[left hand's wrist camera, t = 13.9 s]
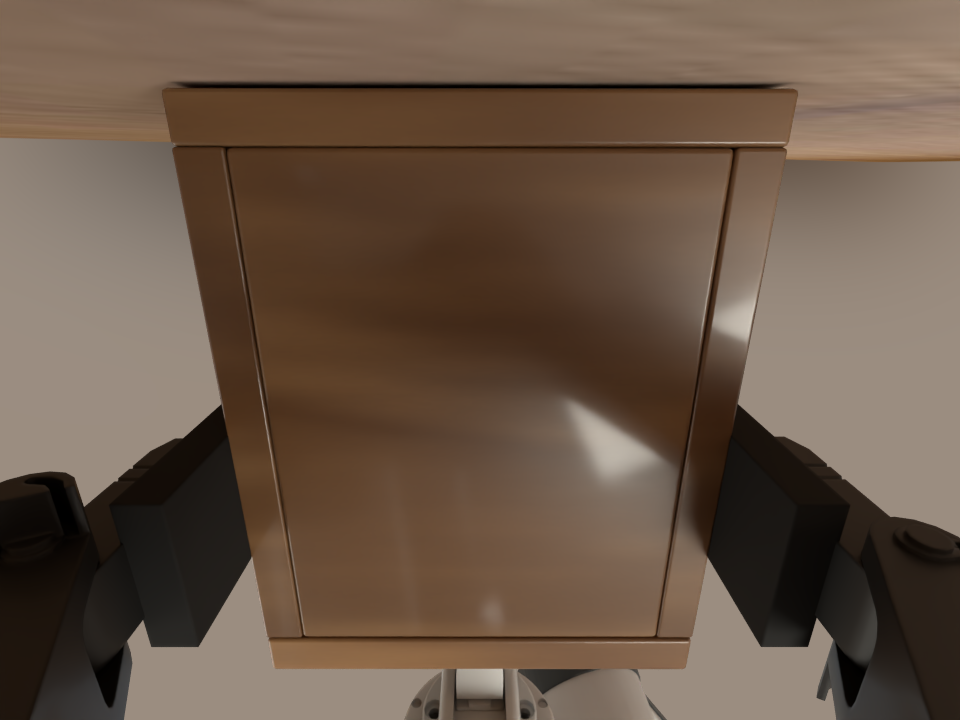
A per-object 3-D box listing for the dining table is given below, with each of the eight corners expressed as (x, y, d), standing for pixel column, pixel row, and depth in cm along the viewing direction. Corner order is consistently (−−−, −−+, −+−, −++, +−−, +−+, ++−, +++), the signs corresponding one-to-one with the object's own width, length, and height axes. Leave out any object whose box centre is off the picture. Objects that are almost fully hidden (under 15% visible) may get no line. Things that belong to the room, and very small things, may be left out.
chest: (597, 141, 19) (579, 389, 23) (361, 141, 19) (380, 389, 23) (801, 88, 7) (693, 638, 11) (158, 86, 7) (265, 638, 11)
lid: (576, 385, 24) (565, 542, 27) (383, 385, 24) (393, 542, 27) (692, 640, 11) (644, 887, 14) (266, 640, 11) (313, 887, 14)
